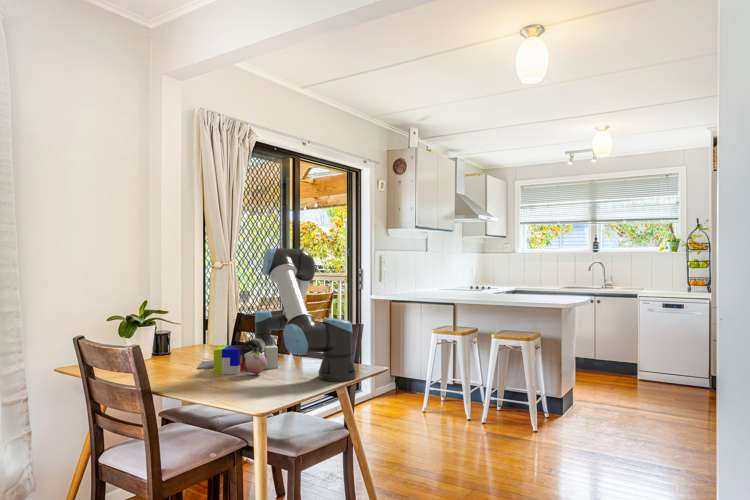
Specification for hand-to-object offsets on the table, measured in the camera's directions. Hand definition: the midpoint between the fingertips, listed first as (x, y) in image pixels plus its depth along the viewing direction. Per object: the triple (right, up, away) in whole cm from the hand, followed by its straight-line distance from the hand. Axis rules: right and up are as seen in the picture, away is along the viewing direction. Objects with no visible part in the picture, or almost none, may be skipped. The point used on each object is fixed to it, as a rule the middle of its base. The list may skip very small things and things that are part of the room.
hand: (231, 356), depth 215 cm
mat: (-9, -6, +9) cm, 15 cm away
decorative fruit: (+13, -6, -9) cm, 16 cm away
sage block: (+16, -6, +5) cm, 18 cm away
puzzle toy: (0, -6, -2) cm, 7 cm away
